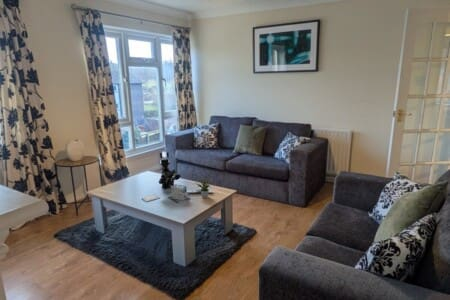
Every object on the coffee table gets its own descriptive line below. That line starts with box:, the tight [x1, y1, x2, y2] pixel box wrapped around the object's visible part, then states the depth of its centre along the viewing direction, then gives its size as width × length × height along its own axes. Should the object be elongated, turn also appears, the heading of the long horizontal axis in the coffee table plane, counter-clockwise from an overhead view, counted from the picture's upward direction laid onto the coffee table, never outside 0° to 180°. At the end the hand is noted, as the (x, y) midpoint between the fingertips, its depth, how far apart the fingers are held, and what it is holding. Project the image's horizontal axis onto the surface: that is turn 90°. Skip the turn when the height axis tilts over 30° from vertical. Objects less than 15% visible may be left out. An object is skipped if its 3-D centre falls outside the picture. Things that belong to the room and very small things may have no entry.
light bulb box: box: [171, 183, 188, 201], centre depth 240 cm, size 11×7×11 cm, turn 71°
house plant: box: [195, 177, 213, 199], centre depth 244 cm, size 14×14×16 cm
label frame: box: [167, 195, 192, 204], centre depth 242 cm, size 13×15×1 cm
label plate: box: [141, 193, 161, 203], centre depth 243 cm, size 12×9×1 cm
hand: (173, 187), depth 247 cm, fingers closed
